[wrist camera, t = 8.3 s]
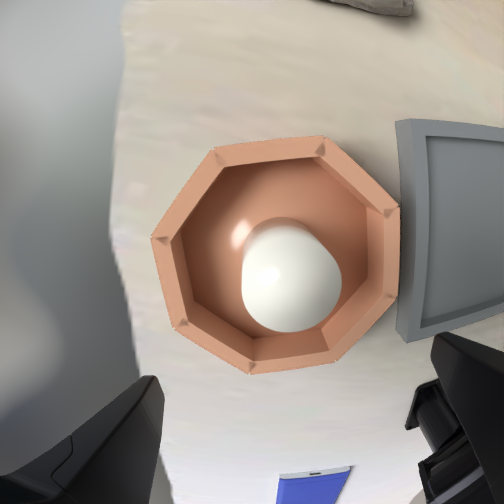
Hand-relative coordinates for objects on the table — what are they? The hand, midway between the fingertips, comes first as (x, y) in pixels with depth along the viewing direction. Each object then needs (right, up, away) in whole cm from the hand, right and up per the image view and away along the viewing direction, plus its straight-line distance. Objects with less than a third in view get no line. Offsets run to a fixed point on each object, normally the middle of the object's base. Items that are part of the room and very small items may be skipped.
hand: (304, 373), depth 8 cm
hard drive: (+6, -27, +21) cm, 34 cm away
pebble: (0, +4, +9) cm, 10 cm away
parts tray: (+16, +6, +10) cm, 20 cm away
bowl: (0, +4, +10) cm, 11 cm away
